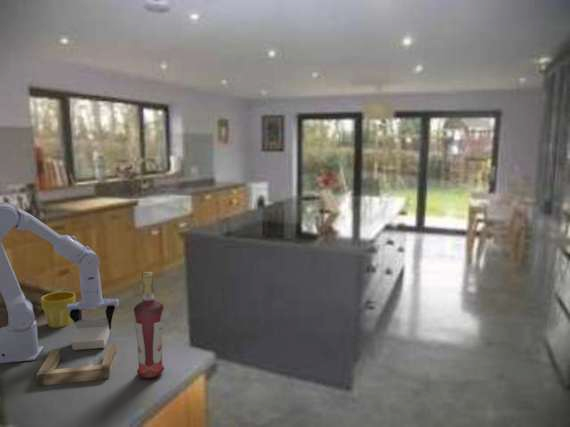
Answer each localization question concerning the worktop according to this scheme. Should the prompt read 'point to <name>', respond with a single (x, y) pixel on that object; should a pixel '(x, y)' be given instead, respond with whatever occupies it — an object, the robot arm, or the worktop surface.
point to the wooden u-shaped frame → (74, 369)
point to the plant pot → (57, 308)
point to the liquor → (149, 331)
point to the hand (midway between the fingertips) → (95, 330)
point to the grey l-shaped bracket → (91, 334)
